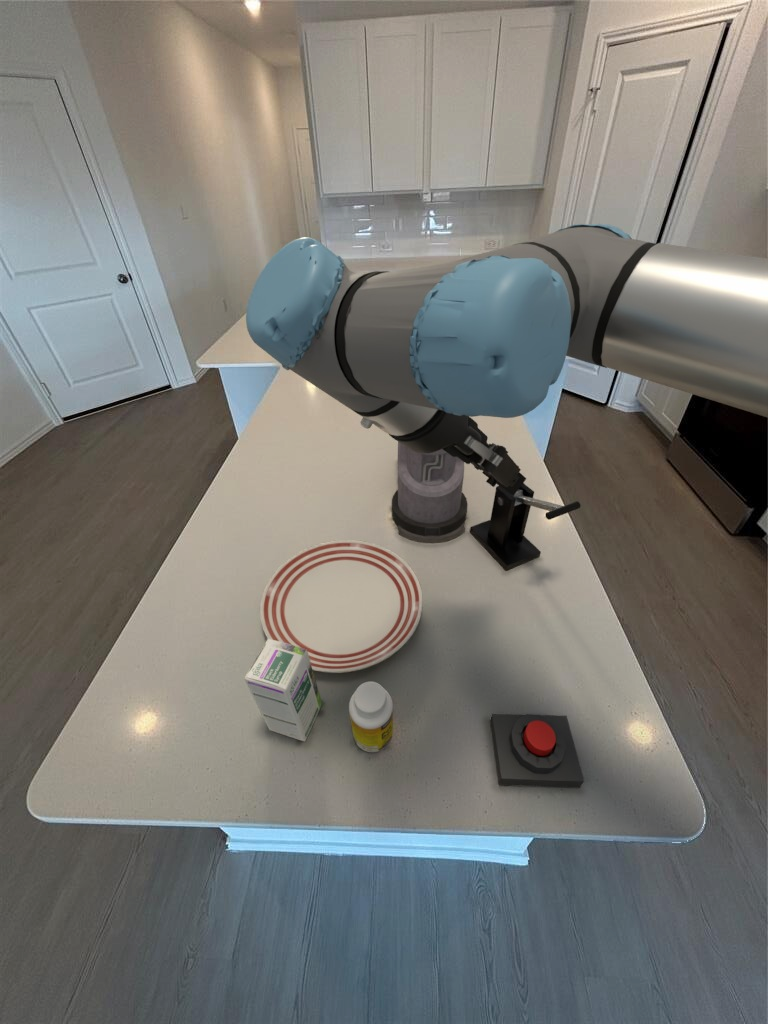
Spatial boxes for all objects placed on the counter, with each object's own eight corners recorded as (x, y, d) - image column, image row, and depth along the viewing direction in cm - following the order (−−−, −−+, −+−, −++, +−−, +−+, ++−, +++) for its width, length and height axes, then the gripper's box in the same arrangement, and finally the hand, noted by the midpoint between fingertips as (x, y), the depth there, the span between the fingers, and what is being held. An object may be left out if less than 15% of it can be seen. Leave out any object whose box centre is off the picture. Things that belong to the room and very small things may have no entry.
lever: (581, 512, 69) (580, 498, 69) (551, 524, 68) (550, 509, 67) (522, 497, 82) (520, 484, 81) (496, 506, 80) (494, 494, 79)
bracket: (539, 556, 84) (556, 501, 75) (505, 571, 82) (518, 515, 73) (501, 520, 93) (511, 466, 84) (469, 531, 90) (477, 477, 81)
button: (548, 726, 57) (551, 720, 56) (555, 756, 54) (559, 750, 53) (520, 725, 57) (523, 719, 56) (526, 755, 54) (529, 749, 53)
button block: (562, 722, 61) (569, 709, 58) (579, 787, 55) (588, 776, 52) (489, 720, 61) (493, 707, 59) (498, 785, 55) (503, 773, 53)
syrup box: (305, 743, 60) (287, 690, 50) (267, 730, 61) (242, 676, 52) (322, 704, 64) (309, 648, 54) (286, 692, 65) (266, 636, 56)
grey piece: (472, 542, 88) (488, 435, 72) (392, 544, 88) (390, 438, 72) (453, 458, 111) (462, 363, 95) (389, 460, 111) (387, 365, 95)
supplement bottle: (386, 759, 58) (384, 725, 51) (347, 746, 59) (340, 711, 52) (398, 718, 62) (398, 682, 55) (361, 707, 63) (356, 670, 56)
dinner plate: (445, 578, 81) (446, 566, 79) (378, 711, 63) (377, 700, 60) (319, 535, 91) (317, 523, 88) (229, 639, 72) (224, 628, 70)
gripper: (350, 406, 43) (463, 482, 61) (434, 469, 35) (536, 536, 53) (394, 340, 42) (496, 438, 60) (492, 389, 34) (577, 485, 51)
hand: (515, 484), depth 56 cm, fingers closed
